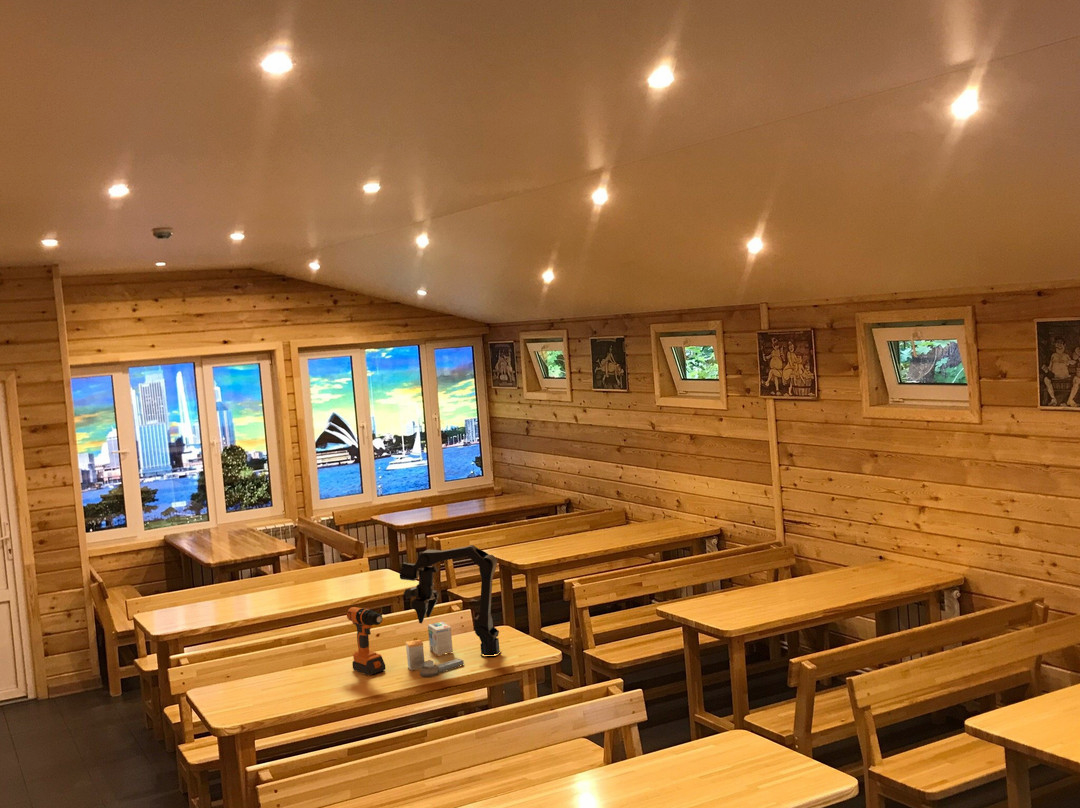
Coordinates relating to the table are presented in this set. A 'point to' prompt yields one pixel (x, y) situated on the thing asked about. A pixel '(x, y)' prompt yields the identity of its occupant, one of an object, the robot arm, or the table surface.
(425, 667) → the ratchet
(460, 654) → the table surface
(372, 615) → the power drill
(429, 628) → the light bulb box
